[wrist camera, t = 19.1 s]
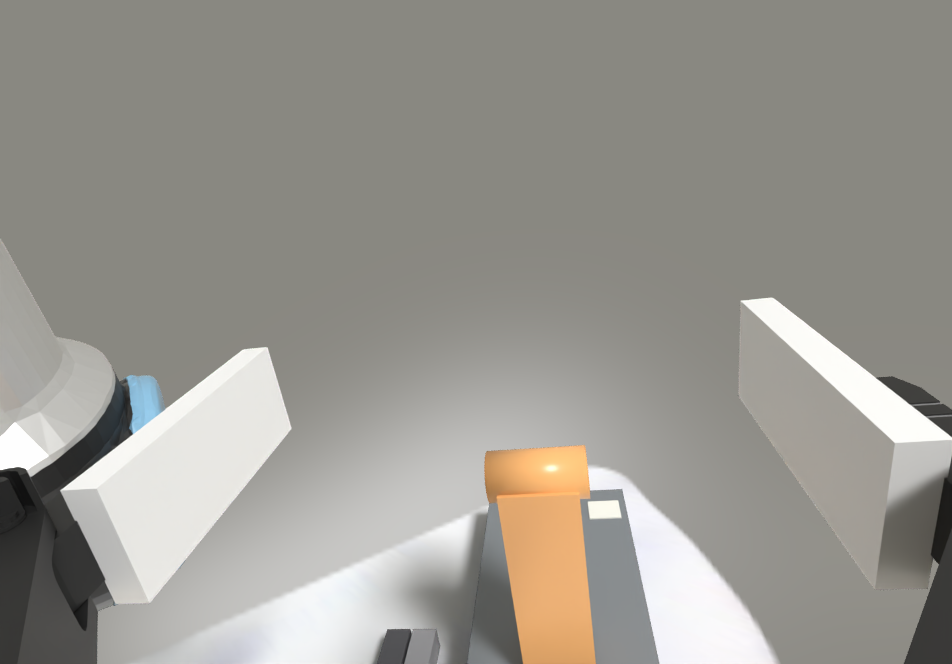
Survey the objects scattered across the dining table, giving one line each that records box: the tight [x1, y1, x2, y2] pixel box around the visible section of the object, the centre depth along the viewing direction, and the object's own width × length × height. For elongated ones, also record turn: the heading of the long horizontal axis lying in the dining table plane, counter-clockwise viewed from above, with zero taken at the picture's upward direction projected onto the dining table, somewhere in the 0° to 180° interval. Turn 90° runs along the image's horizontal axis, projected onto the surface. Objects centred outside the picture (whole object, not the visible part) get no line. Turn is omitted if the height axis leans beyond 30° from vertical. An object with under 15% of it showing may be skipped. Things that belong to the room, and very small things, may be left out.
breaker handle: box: [485, 445, 596, 664], centre depth 30 cm, size 5×3×14 cm, turn 83°
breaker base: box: [467, 489, 659, 664], centre depth 37 cm, size 11×20×3 cm, turn 173°
